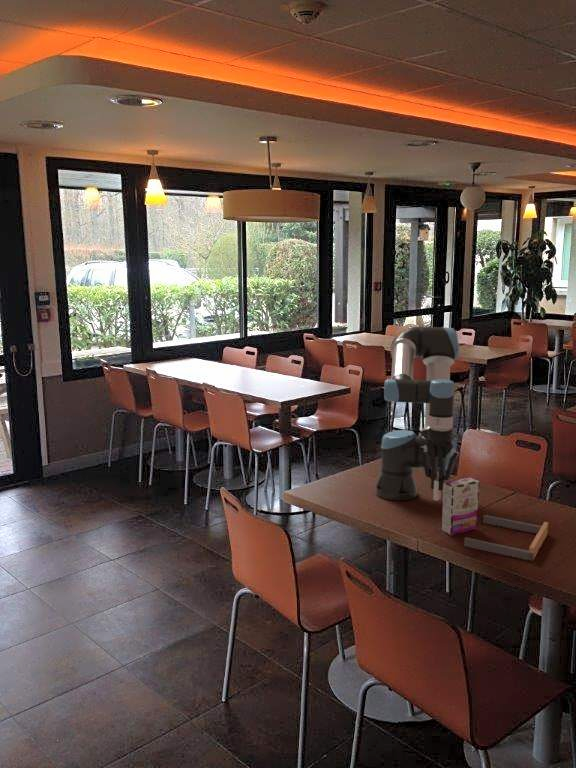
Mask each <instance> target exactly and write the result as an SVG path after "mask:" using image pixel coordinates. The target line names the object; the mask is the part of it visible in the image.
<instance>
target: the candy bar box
mask: <svg viewBox="0 0 576 768" xmlns="http://www.w3.org/2000/svg"><path fill="white" fill-rule="evenodd" d="M479 492H480V480H477V479H475V478H473V477H471V476H470V477H463V478H459V479H454V480H449V481H444V483H443V490H442V512H441V513H442V515H441V516H442V517H441V531H442V532H444V533H446V534H448V535H450V536H455V535H460V534H463V533H467V532H470V531H475V530H478V524H479V521H478V519H479V496H480V493H479Z"/></svg>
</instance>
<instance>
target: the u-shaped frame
mask: <svg viewBox="0 0 576 768" xmlns="http://www.w3.org/2000/svg"><path fill="white" fill-rule="evenodd" d="M482 523H483V524H487V525H493V526H496V525H497V526H496V527H501V526H502V528H506V529H512V530H517V531H520V532H521V531H522V532H527V533H532V534H535V537H534V538H533V540H532V541H531V543H530V545H529V547H528V550H526V549H523V548H517V547H513V546H508V545H503V544H499V543H494V542H489V541H485V540H481V539H475V538H471V537H466V536H465V538H464V545H463V546H464V547H467V548H471V549H476V550H479V551H480V550H481V551H485V552H490V553H494V554H498V555H504V556H507V557H511V556H512V557H513V558H516V557H517V558H516V559H520V558H521V559H520V560H525V561H529V560H530V561H531V562H534V560H535V558H536V556H537V554H538V552H539V551H540V549H539V548H541V547H542V545H543V544H544V542H543V541H545V539H546V538H547V536H548V533H549V532H548V530H549V522H548V521H547V522H546V521H544V522H543V524H542V525H539V524H538V525H537V524H532V523H528V522H522V521H519V520H512V519H507V518H503V517H497V516H493V515H487V514H484V515H483V520H482ZM538 550H539V551H538Z"/></svg>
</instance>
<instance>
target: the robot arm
mask: <svg viewBox="0 0 576 768" xmlns="http://www.w3.org/2000/svg"><path fill="white" fill-rule="evenodd" d="M389 349H390V350H389V351H390V355H391V357H392V361H391V362H392V363H391V375H390V379H389V378H387V379H385V380H384V385H383V386H384V388H383V398H384V400H385V401H386V402H390V403H412V404H413V403H415V404H416V403H417V404H425V414H424V415H425V417H424V427H423V428H422V429H421V430H420V435H416V434H415V432H414V431H412V430H407V429H399V430H392V431H389V432H387V433H385V434H384V435H383V436H382V438H381V446H380V447H381V457H380V458H381V459H380V460H381V461H380V474H379V476H378V479H377V482H376V485H375V494H376V496H377V497H380V498H381V499H385V500H390V501H408V500H409V501H410V500H412V499H414V498H416V497H417V496H418V487H417V485H416V481H415V477H414V469H424V474H425V477H427V478H429V479H430V488H431V490H433V497H432V498H433V499H432V500H433V501H439V500H441V494H442V493H441V491H442V492H443V483H444V482H445V481H448V480H449V479H450V478H452V477H451V476H452V473H453V470H454V466H455V463H456V461H457V458H458V457H459V455H460V454H461V453H460V451H457V446H458V438H457V437H454V432H453V425H454V424H453V422H454V421H453V419H454V402H455V392H456V391H455V382H454V380H451V366H453V365H454V364H455V360H456V359H458V358H459V354H460V353H459V338H458V333H457V331H456V329H455V328H453V327H445V326H442V327H441V326H440V327H439V326H438V327H437V326H412V327H408V328H406V329H403V330H402V331H400V332H399V333H398V334H397V335H395V337H394V338H393V340H392V342H391V344H390V348H389ZM414 358H422V363H423V364H424V365H425V366H426V375H425V376H426V379H425V380H422V379H421V380H419V379H414Z"/></svg>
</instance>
